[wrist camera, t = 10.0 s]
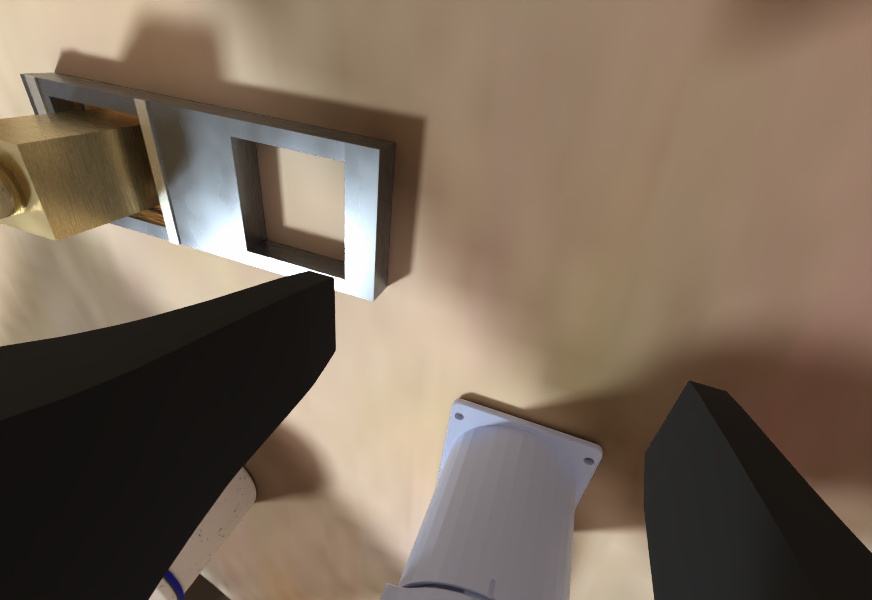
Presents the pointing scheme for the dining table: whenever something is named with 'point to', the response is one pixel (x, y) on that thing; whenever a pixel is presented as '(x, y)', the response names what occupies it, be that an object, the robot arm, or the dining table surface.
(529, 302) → the dining table surface
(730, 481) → the robot arm
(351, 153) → the plate with square holes
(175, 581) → the teacup with lid
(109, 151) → the cube with round knob
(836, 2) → the dining table surface
